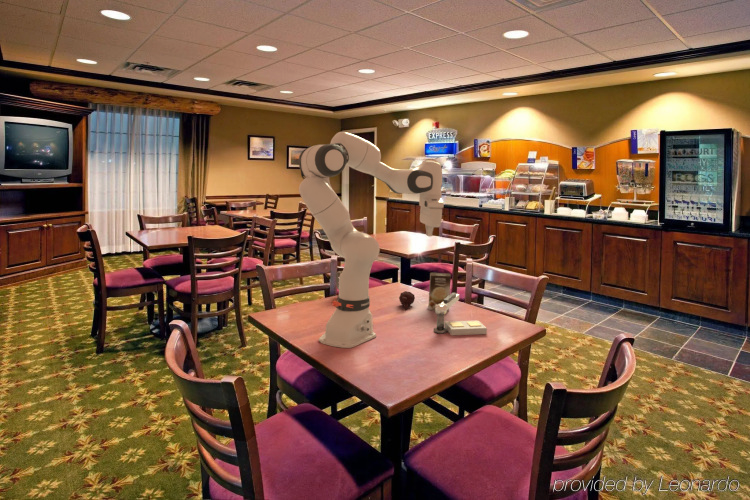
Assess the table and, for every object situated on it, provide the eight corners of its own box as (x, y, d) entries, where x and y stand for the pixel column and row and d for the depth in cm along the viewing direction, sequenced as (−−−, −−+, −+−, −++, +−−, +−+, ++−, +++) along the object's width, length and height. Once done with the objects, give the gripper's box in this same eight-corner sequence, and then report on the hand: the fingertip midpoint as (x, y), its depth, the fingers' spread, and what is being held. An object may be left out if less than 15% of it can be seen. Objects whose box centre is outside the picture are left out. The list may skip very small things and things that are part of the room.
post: (444, 334, 168) (445, 315, 167) (431, 332, 171) (432, 313, 169) (448, 330, 173) (449, 312, 171) (436, 328, 175) (436, 310, 174)
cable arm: (444, 314, 167) (445, 305, 167) (433, 313, 169) (433, 303, 169) (461, 300, 187) (461, 291, 186) (451, 299, 189) (451, 290, 188)
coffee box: (428, 310, 198) (429, 275, 195) (428, 306, 204) (429, 272, 202) (449, 311, 197) (450, 276, 195) (448, 307, 204) (450, 273, 201)
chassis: (451, 335, 168) (451, 328, 167) (444, 327, 176) (444, 320, 176) (486, 334, 170) (486, 327, 169) (478, 326, 178) (478, 319, 178)
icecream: (399, 287, 212) (394, 298, 198) (414, 284, 210) (410, 295, 196) (403, 301, 214) (398, 312, 199) (418, 298, 212) (414, 310, 197)
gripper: (416, 200, 188) (415, 232, 191) (429, 203, 168) (427, 239, 171) (431, 200, 189) (430, 232, 191) (445, 203, 169) (443, 239, 172)
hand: (429, 236), depth 181 cm, fingers closed
